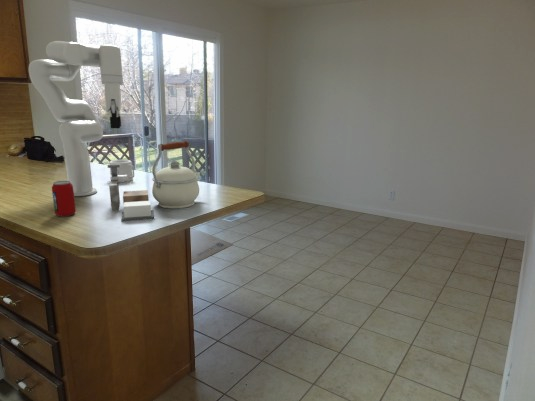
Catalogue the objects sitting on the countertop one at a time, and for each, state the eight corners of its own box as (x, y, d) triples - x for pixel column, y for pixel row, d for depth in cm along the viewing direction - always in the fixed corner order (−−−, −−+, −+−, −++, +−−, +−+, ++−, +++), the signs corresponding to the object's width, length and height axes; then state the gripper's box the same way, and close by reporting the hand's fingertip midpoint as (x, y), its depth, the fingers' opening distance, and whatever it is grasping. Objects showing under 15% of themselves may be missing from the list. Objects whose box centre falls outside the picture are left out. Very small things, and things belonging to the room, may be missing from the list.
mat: (121, 221, 133) (121, 219, 132) (122, 214, 141) (122, 212, 141) (154, 219, 136) (154, 216, 136) (153, 211, 144) (153, 209, 144)
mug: (106, 181, 195) (104, 161, 192) (121, 177, 205) (119, 158, 202) (127, 183, 190) (125, 163, 188) (141, 179, 200) (140, 160, 197)
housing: (111, 212, 142) (108, 186, 140) (113, 203, 155) (111, 179, 152) (149, 210, 146) (147, 184, 144) (148, 201, 159) (146, 177, 156)
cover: (124, 217, 134) (123, 206, 133) (125, 212, 140) (124, 202, 139) (151, 215, 137) (150, 204, 136) (150, 211, 142) (150, 200, 141)
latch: (108, 180, 149) (107, 165, 147) (109, 179, 152) (107, 164, 150) (127, 179, 151) (125, 165, 149) (127, 178, 154) (126, 163, 152)
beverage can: (60, 212, 143) (56, 180, 139) (79, 211, 143) (75, 180, 140) (52, 217, 136) (47, 184, 133) (71, 217, 137) (67, 184, 134)
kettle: (173, 214, 142) (169, 146, 135) (139, 206, 151) (134, 143, 145) (216, 200, 162) (215, 140, 156) (184, 194, 171) (182, 137, 165)
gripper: (103, 81, 150) (107, 125, 154) (99, 79, 134) (103, 129, 139) (123, 81, 152) (127, 125, 157) (121, 80, 136) (125, 128, 141)
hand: (116, 127), depth 148 cm, fingers open, 9 cm apart
